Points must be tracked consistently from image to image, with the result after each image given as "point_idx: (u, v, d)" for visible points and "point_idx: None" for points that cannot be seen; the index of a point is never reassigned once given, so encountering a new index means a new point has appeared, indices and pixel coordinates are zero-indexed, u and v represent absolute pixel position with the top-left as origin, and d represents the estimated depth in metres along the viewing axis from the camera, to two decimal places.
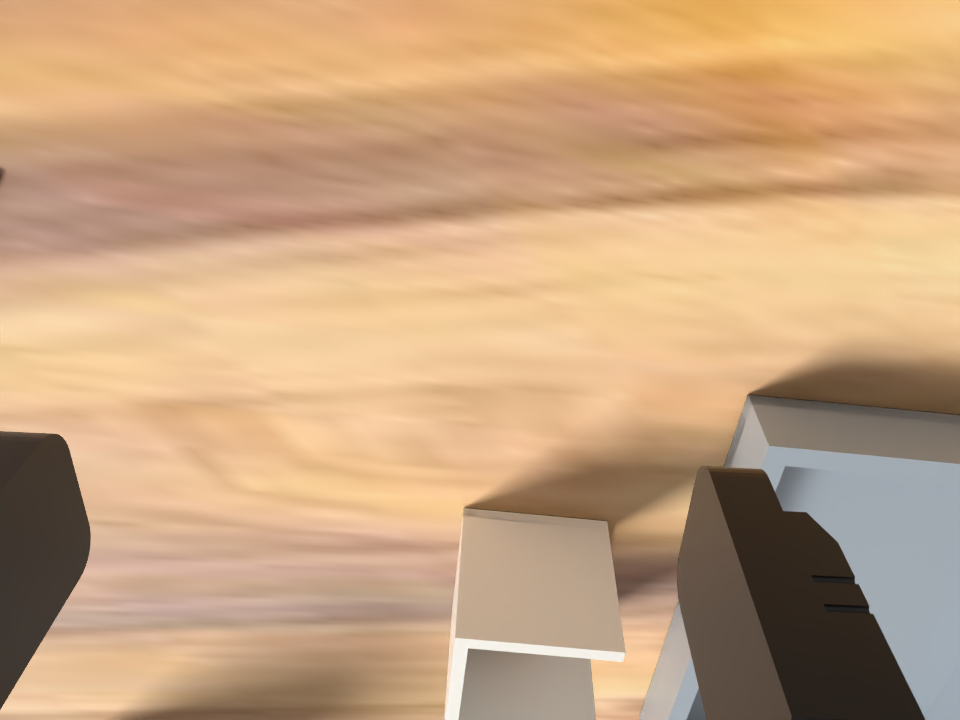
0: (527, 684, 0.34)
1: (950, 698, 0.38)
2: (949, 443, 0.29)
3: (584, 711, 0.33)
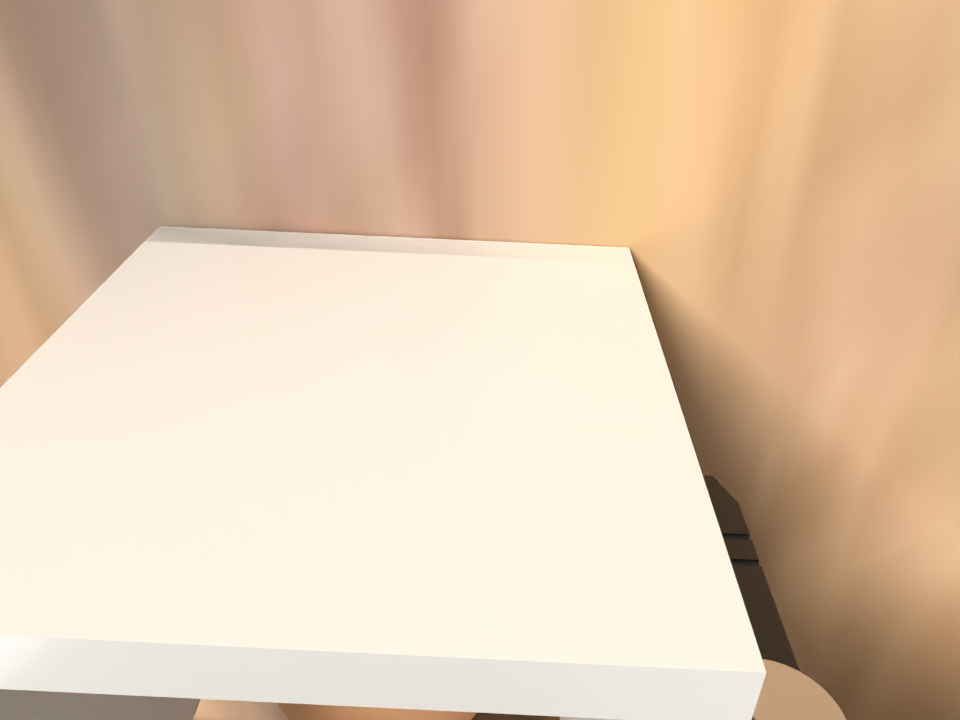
0: None
1: None
2: None
3: None
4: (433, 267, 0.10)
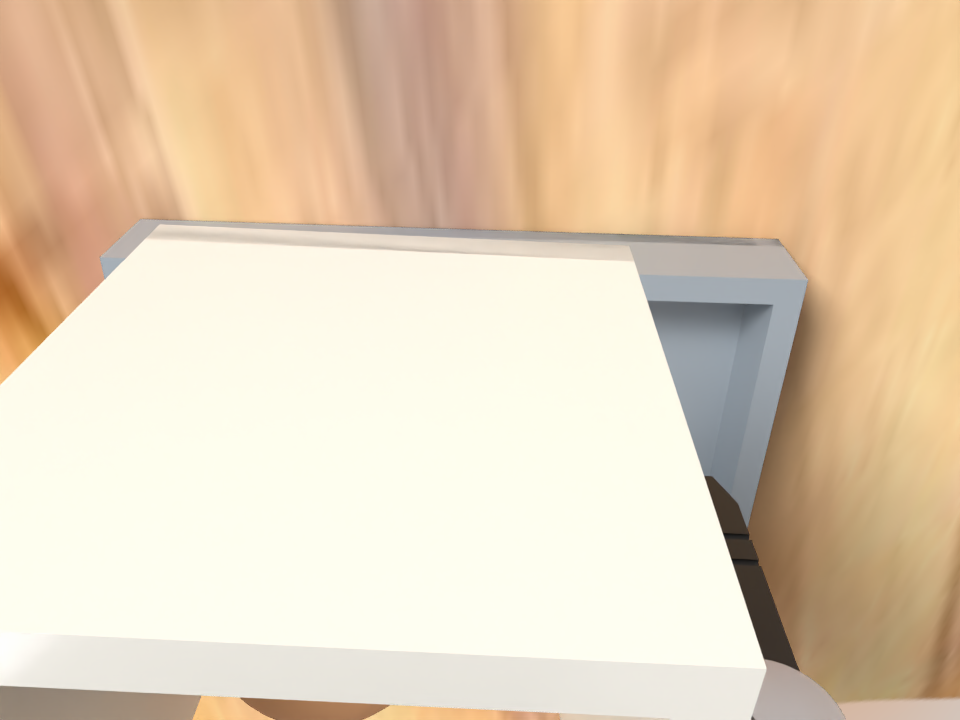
0: None
1: None
2: None
3: None
4: (433, 265, 0.10)
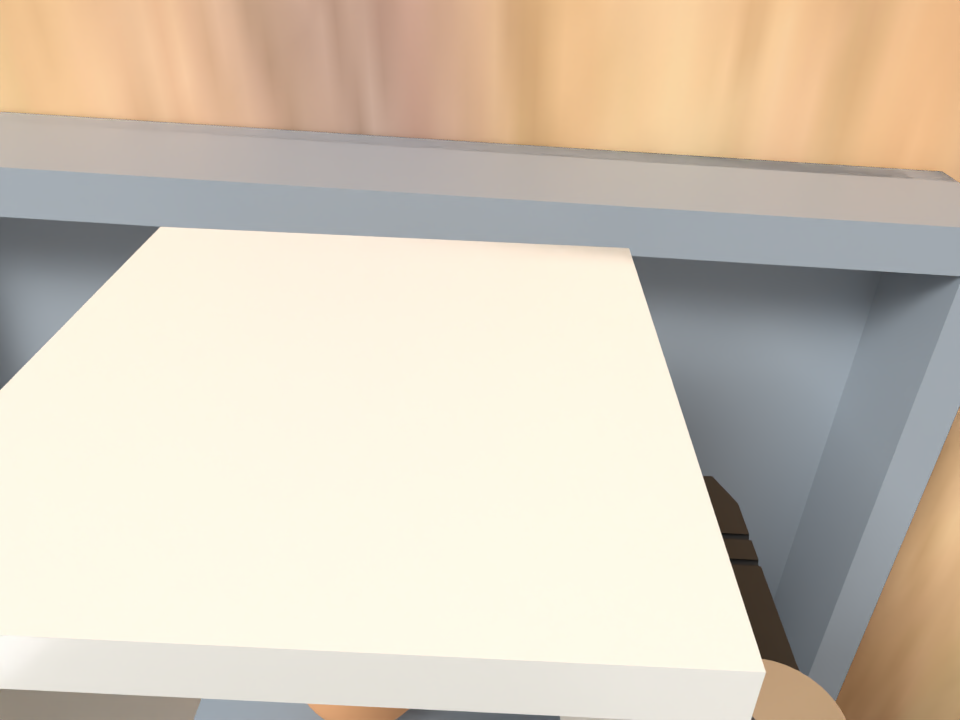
0: None
1: None
2: None
3: None
4: (433, 268, 0.10)
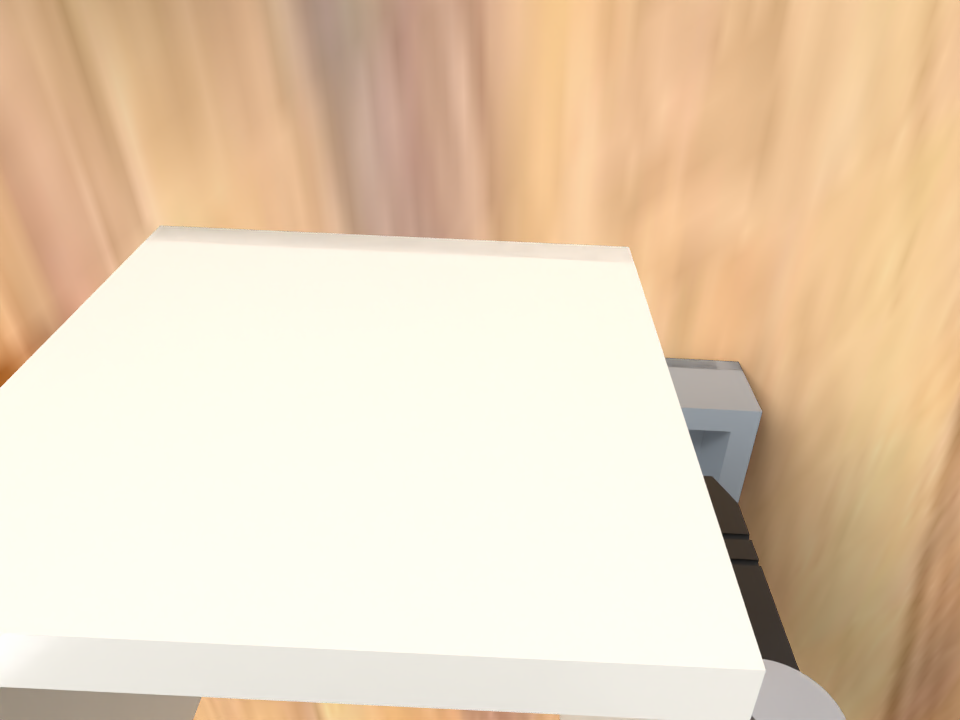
0: None
1: None
2: None
3: None
4: (433, 266, 0.10)
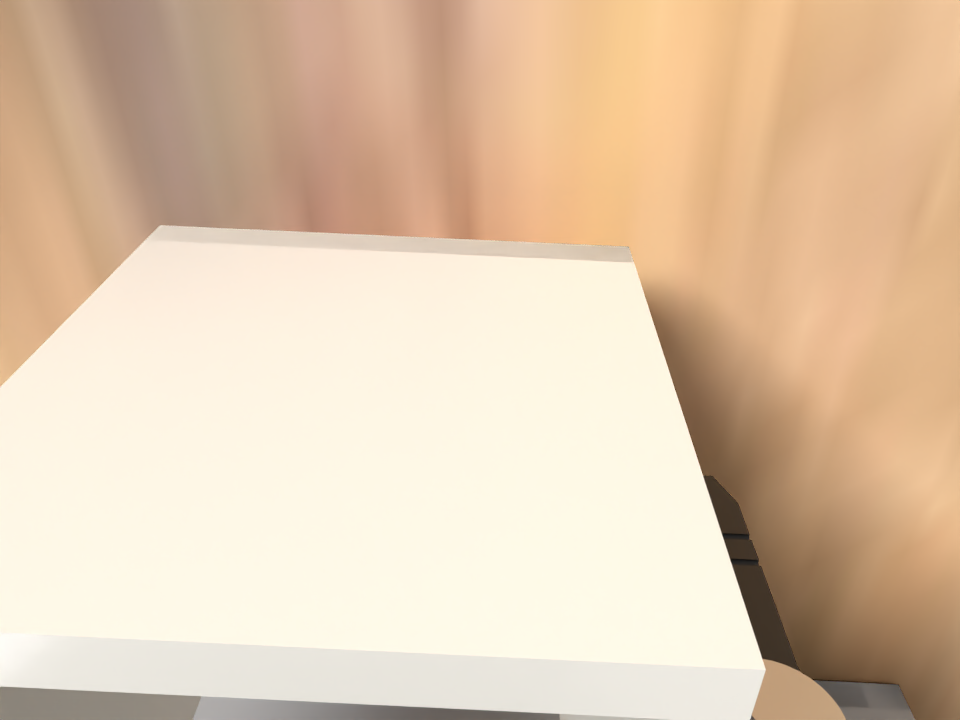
0: None
1: None
2: None
3: None
4: (433, 266, 0.10)
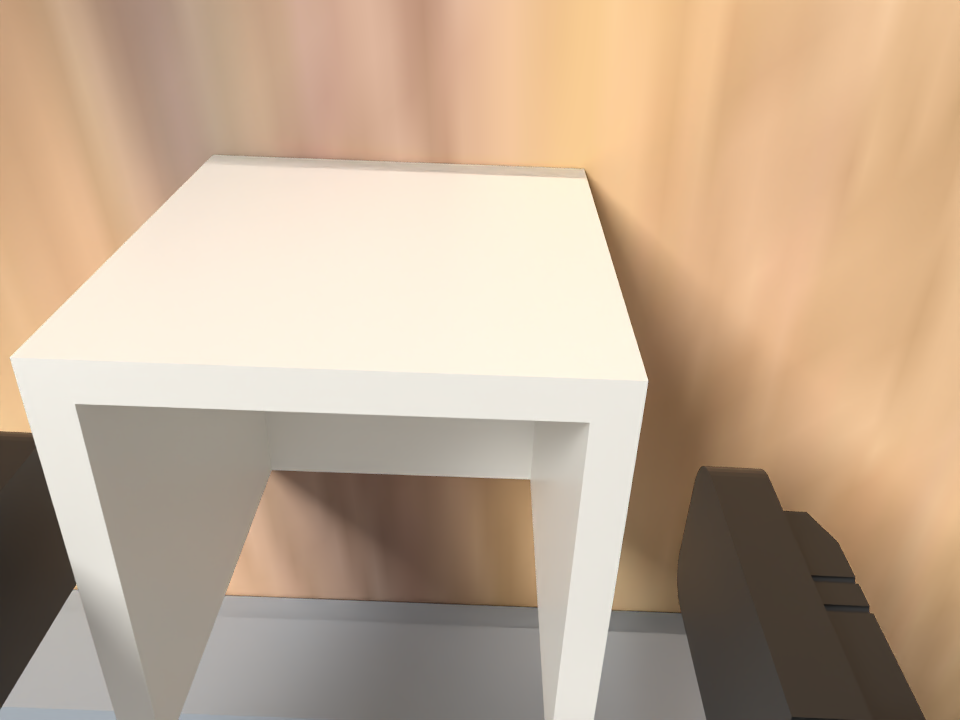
0: (192, 478, 0.11)
1: None
2: None
3: (192, 648, 0.12)
4: (430, 180, 0.13)
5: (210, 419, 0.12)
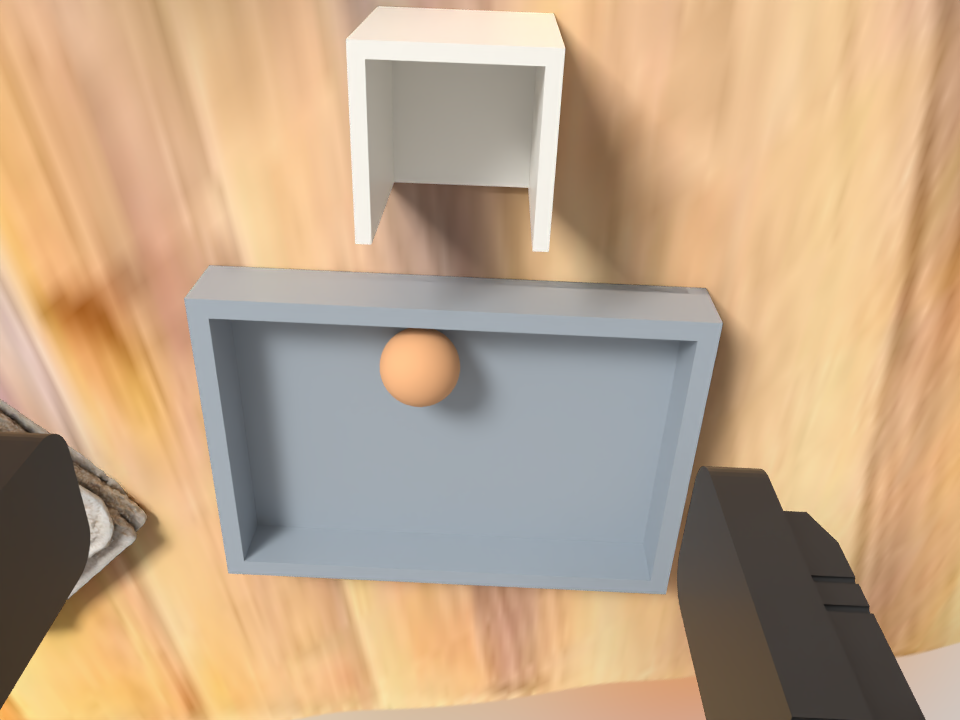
0: (379, 136, 0.26)
1: (347, 539, 0.39)
2: None
3: (377, 215, 0.27)
4: (481, 14, 0.27)
5: (382, 118, 0.27)
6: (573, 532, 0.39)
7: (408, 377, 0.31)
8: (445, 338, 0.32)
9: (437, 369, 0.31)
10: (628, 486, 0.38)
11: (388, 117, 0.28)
